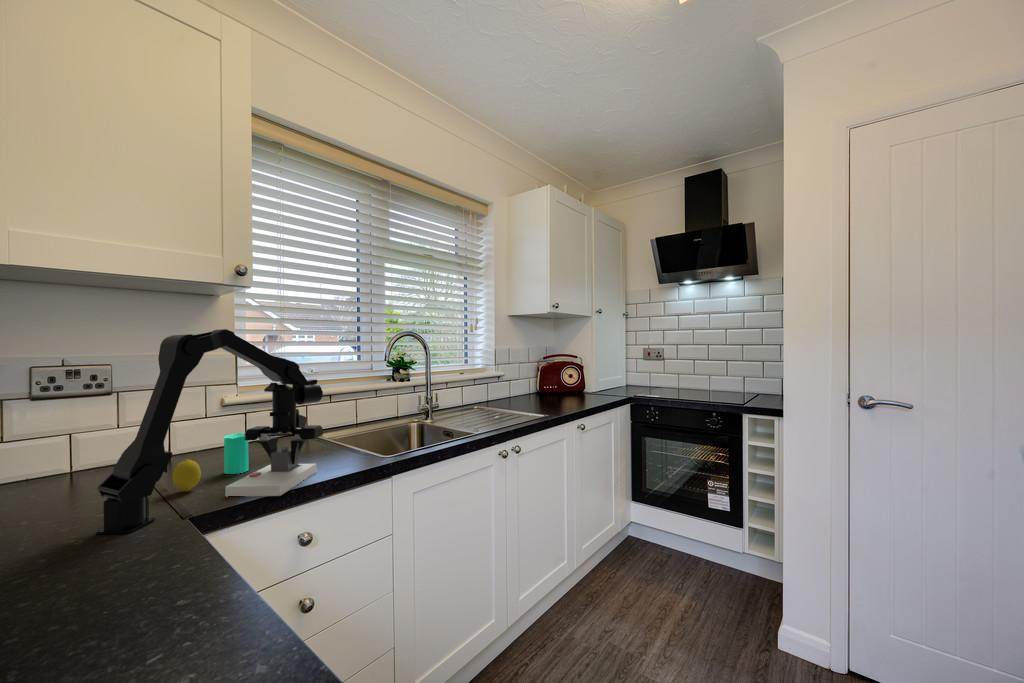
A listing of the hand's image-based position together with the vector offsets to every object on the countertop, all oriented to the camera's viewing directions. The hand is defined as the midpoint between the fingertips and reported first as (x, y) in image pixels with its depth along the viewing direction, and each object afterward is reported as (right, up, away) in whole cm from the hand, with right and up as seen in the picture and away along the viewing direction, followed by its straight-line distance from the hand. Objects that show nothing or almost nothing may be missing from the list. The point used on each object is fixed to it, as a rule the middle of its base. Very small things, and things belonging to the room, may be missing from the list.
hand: (284, 464), depth 115 cm
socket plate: (0, -4, -5) cm, 6 cm away
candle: (-17, -4, +6) cm, 18 cm away
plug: (0, -1, 0) cm, 1 cm away
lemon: (-19, -4, -10) cm, 22 cm away
